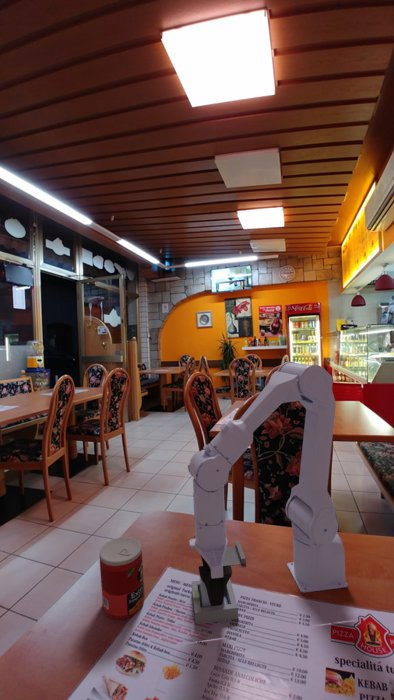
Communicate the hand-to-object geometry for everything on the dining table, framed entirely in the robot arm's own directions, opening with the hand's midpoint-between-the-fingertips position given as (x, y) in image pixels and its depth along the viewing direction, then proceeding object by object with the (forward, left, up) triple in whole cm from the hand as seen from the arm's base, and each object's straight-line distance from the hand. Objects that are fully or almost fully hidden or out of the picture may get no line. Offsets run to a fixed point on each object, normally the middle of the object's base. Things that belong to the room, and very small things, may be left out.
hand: (213, 587), depth 63 cm
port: (0, 0, -3) cm, 3 cm away
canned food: (+17, -3, -4) cm, 18 cm away
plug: (0, 0, -3) cm, 4 cm away
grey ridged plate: (-5, -13, -3) cm, 14 cm away
